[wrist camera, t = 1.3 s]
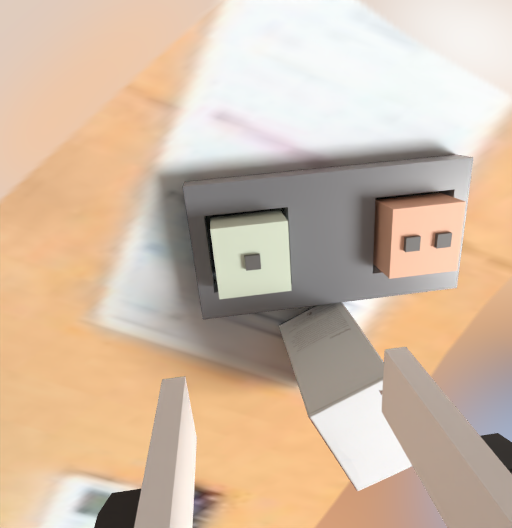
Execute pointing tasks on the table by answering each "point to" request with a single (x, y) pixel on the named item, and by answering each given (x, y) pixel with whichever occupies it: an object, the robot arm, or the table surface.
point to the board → (322, 229)
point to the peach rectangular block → (418, 234)
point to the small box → (344, 392)
